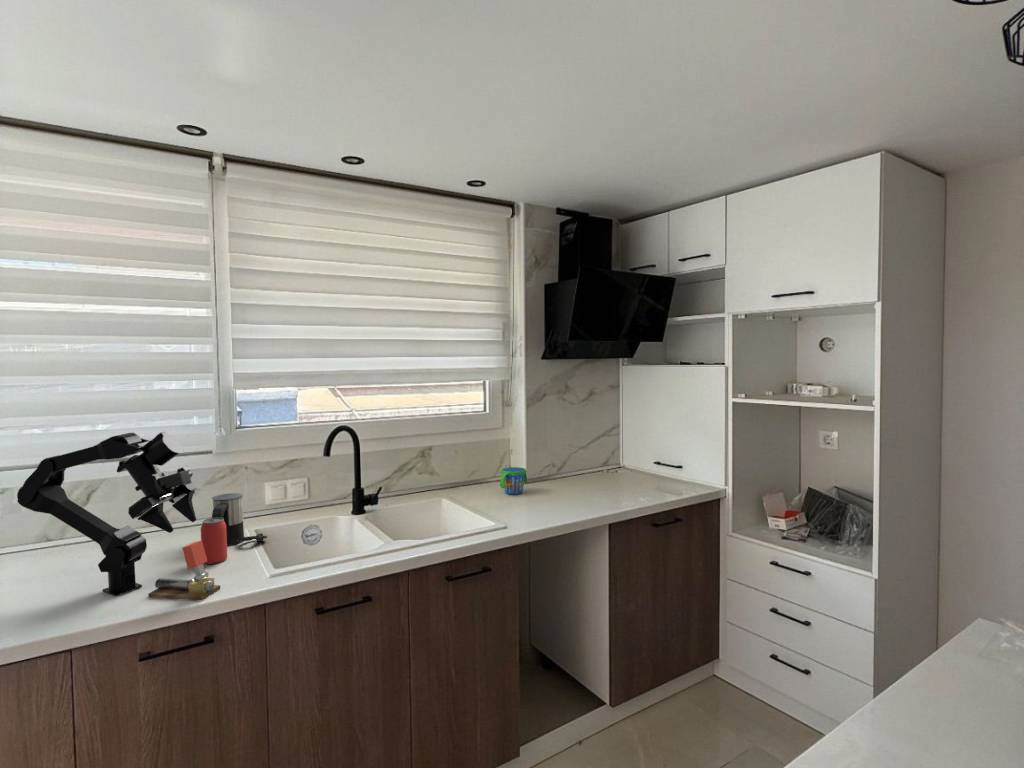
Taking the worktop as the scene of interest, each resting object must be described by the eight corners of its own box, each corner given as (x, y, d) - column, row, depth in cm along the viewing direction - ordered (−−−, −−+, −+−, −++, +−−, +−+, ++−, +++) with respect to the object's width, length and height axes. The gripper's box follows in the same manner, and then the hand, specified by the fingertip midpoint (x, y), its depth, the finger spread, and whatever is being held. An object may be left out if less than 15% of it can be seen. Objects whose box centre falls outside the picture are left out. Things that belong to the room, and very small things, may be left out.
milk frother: (214, 539, 186) (212, 494, 185) (267, 532, 192) (265, 489, 192) (210, 553, 173) (208, 504, 172) (267, 545, 179) (265, 499, 179)
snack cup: (518, 487, 252) (517, 464, 252) (535, 491, 245) (535, 468, 244) (491, 494, 241) (491, 470, 241) (509, 498, 234) (509, 473, 233)
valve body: (152, 592, 143) (152, 580, 143) (164, 585, 147) (164, 574, 147) (205, 595, 141) (205, 583, 141) (216, 588, 145) (215, 577, 145)
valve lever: (192, 583, 141) (182, 547, 141) (203, 577, 145) (193, 542, 145) (200, 581, 141) (190, 545, 141) (211, 575, 145) (201, 540, 145)
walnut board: (148, 597, 142) (148, 593, 142) (169, 586, 149) (169, 582, 148) (201, 600, 139) (201, 596, 139) (220, 589, 146) (220, 585, 146)
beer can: (221, 555, 171) (219, 515, 171) (231, 559, 167) (229, 519, 166) (198, 561, 166) (196, 520, 166) (208, 566, 162) (206, 524, 161)
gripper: (146, 464, 135) (185, 518, 135) (194, 452, 154) (228, 499, 154) (110, 491, 136) (148, 545, 136) (162, 475, 155) (196, 522, 155)
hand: (183, 526), depth 145 cm, fingers open, 9 cm apart
